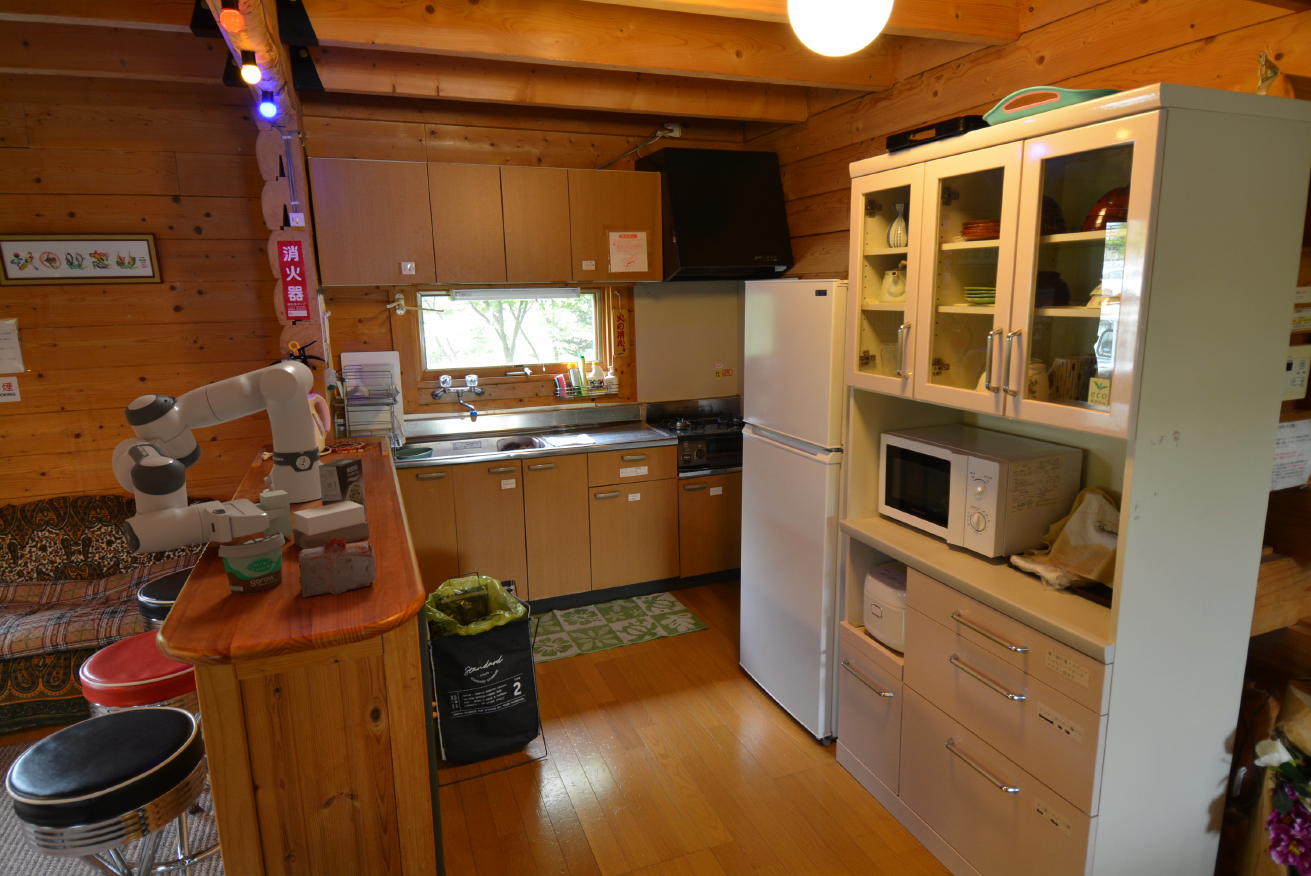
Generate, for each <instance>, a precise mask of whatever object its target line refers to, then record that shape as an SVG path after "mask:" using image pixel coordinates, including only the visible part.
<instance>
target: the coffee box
mask: <svg viewBox="0 0 1311 876" xmlns="http://www.w3.org/2000/svg"><path fill="white" fill-rule="evenodd" d="M362 463H363V462H362V458H339V459H335V460H333V461H330V462H327V463H323V465H320V466H319V475H320V485H321V496H322V498H321V503H322V506H325V505H330V504H335V503H340V502H344V501H352V502H354V503H357V504H360V505H363V506H364V513H365V521H367V520H368V513H367V503H366V495H365V484H364V483H365V482H364V474H363V473H364V472H363V464H362Z"/></svg>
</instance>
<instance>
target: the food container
mask: <svg viewBox="0 0 1311 876" xmlns="http://www.w3.org/2000/svg"><path fill="white" fill-rule="evenodd" d="M285 543H286V539H285V536H283V534H282V533H281V531H280V530H278V529H276V534H272V535H270V536H266V535H265V536H263V537H256V538H250V539H247V540H245V541H243V542H241V543H238V544H235V545H222V544H220V545H219V548H218V557H220V558H222V560H223V564H224V570H225V573H226V576H227V580H228V584H229V589H230V593H231V594H233V595H254V594H258V593H263V592H266V591H267V592H268V591H270V590H273V589H275V588H277V587H279V586H280V585H281V584H282V582H283V568H282V567H283V563H282V562H283V560H282V547H283V545H285Z"/></svg>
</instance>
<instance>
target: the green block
mask: <svg viewBox="0 0 1311 876" xmlns="http://www.w3.org/2000/svg"><path fill="white" fill-rule="evenodd" d="M258 497H259V502H260V504H261V510H263V511H270V510H274V509H276V508H283V509H284V512H285V515H284V516H281V517H277V518H275V519H272V520H270V521H269V525H270V527H269V528H268V529H267V530H265V531H263V534H264V536H265V537H266V536H270V535H272V534H276V529H278V530H280V531H281V533H282V534H283V537H287V536H291V535H293V524H292V523H293V522H292V515H291V506H290V503H289V496H288V493H287V492H285V491H283V490H277V491H271V492H265V493H263V492H261V493H259V496H258Z"/></svg>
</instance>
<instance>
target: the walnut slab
mask: <svg viewBox="0 0 1311 876" xmlns="http://www.w3.org/2000/svg"><path fill="white" fill-rule="evenodd" d="M369 529H370V527H369V523H368V522H367V521H365V523H361V524H356V525H352V526H348V527H344V528H339V529H335V530H331V531H327V532H323V533H318V534H314V535H310V536H309V535H307V534H305V533H303V532H301V531H299V530H297V529H295V527H294V528H293V527H292V530H293V534H292V535H293V543H294V544H295V545H296V546H298V547H300V548H301V549H302V550H304V549H313V548H317V547H324V546H325V545H326V543H325V542H327V541H328V540H332V539H334V538H335V539H344V540H345V542H346V543H347V544H349V543H354V542H355V541H357V542H358V541H361V540H366V539H369V538H370V531H369Z"/></svg>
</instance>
